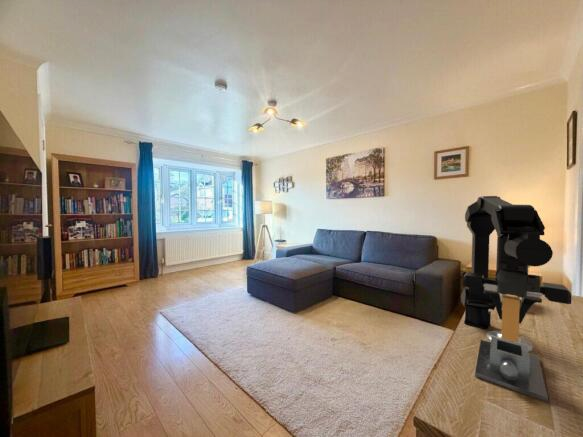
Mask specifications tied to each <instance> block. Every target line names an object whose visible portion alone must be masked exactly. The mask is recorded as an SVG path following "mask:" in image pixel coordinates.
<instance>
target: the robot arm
mask: <svg viewBox="0 0 583 437" xmlns="http://www.w3.org/2000/svg"><path fill="white" fill-rule="evenodd" d="M538 213H539V212H538V211H537V210H536V209H535V208H534V206H533V205H531V204H512V203H510V202H508V201H506V200H504V199H502V198H501V197H500V196H497V195H487V196H486V195H482V196H479V197H478V198H477V200H476V201H474V202H473V203H471V204H470V205H468V206H467V208H466V211H465V214H464V222H465V223H466V228H468V230H469V231H470V233H471V235H472V238H471V271H467V272H466V273H464V275H463V277H462V286H463V287H464V288H463V289H462V292H461V294H460V302H461V304H462V305H463V307H465V309H464V310H465V312H464V314H465V315H464V321H463V323H464V324H466V325H469V326H472V327H477V328H482V329H485V330H489V327H490V326H491V321H492V320H491V315H492V312H491V311H490V310H492V311H495V310H496V313H497V315H498V317H499V319H500V320H501V321H502V305H501V298H500V296H501V295H502V294H504V295H506V294H509V295H515V296H518V297H520V300H521V301H520V307H519V325H521V324H522V323H523V320H524V319H525V317H526V315H527V313H528V311H529V310H530V309H531V307H533V305H534V304H536V303H539V304H542V303H543V299H542V297H543V296H544V297H545V298H546V299H547V300H548V301H549V302H554V303H557V304H558V303H560V304H564V305H565V304H566V305H572V292H571V291H570V289H569V288H568V287H567V286H565V285H564V284H559V283H551V282H541V277H540V275H536V274H535V275H534V274H529V266H530V267H540V266H541V267H542V266H544V265H546V264H548V263H549V262H550V261H551V260H552V258H553V255H554V252H553V249H552V247H551V246H550V244H549V243H547V242H546V241H545V240H542V239H541V236H545V235H546V234H545V229H546V227H545V225H544V222H543V221H542V219H541V216H540V215H539V214H538ZM494 231H496V235H497V236H496V237H497V238H496V240H497V241H496V242H497V243H496V262H495V263H496V269H495V270H496V272H495V279H493V278H489V268H490V267H489V266H490V265H489V264H490V262H489V261H490V260H489V258H490V236H491V234H493V232H494ZM541 283H542V284H541Z"/></svg>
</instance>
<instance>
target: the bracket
mask: <svg viewBox="0 0 583 437" xmlns="http://www.w3.org/2000/svg"><path fill="white" fill-rule="evenodd" d="M501 331H502V330H489V331H487V332H486V339H487V341H486V340H482V339H480V344H479V349H478V353H477V360H476V365H475V372H474V377H475V376H476V377H475V378H478V377H479V378H478V379H481V378H482V379H481V380H483V379H484V381H486V380H487V382H489V381H490V382H489V383H492V384H494V383H495V385H497V384H498V385H497V386H500V385H502V386H501V387H503V386H505V387H504V388H506V387H508V388H510V389H509V390H511V389H513V390H512V391H514V390H516V391H515V392H517V391H518V392H517V393H520V394H522V393H523V395H526V396H528V397H531V398H535V399H537V400H538V401H539V400H540V401H543V402H545V403H548V401H549V398H548V392H547V389H546V384H545V378H544V376H543V370H542V367H541V361H540V358H539V355H537V354H534V353H530V352H532V351H533V349H534V348H533V344H532V343H531V342H530V341H529V340H528V339H526V338H524V337H522V336H520V335H518V342H514V341H510V340H506V339H502V338H501ZM508 388H507V389H508Z"/></svg>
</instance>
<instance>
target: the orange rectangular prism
mask: <svg viewBox="0 0 583 437" xmlns="http://www.w3.org/2000/svg"><path fill="white" fill-rule="evenodd" d="M520 300H521V298H519V297H518V296H515V295H509V294H506V295H504V294H503V300H502V305H501V306H502V320H501V330H500V331H501V338H502V339H506V340H510V341H514V342H518V336H520V335H519V333H520V332H519V330H520V327H519V326H520V324H519V309H520V304H521V301H520Z"/></svg>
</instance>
